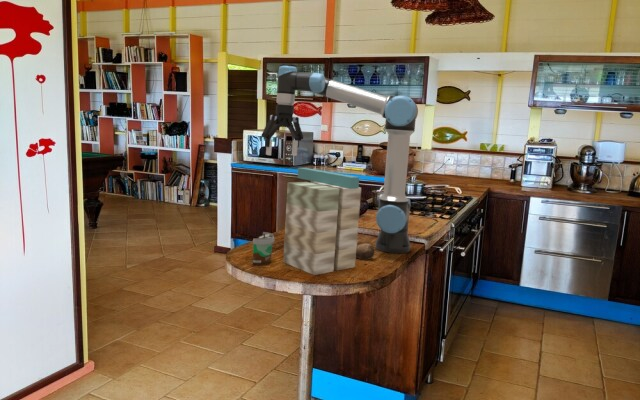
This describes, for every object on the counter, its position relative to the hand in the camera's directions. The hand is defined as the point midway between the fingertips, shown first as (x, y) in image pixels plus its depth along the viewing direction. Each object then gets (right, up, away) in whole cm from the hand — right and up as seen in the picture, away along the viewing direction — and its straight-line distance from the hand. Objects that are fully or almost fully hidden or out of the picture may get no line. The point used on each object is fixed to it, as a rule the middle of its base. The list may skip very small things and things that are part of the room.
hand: (281, 155), depth 213 cm
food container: (-4, -42, -26) cm, 50 cm away
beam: (+19, -12, -22) cm, 31 cm away
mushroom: (+34, -42, -11) cm, 55 cm away
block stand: (+16, -43, -25) cm, 52 cm away
